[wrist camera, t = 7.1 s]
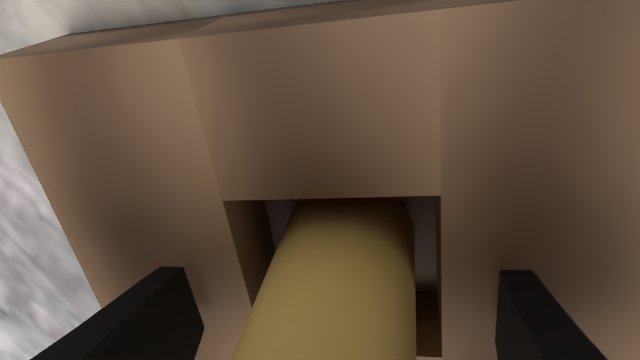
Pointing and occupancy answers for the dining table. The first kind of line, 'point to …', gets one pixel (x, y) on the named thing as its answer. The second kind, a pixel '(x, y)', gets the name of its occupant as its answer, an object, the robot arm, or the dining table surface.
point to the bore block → (352, 152)
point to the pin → (337, 285)
